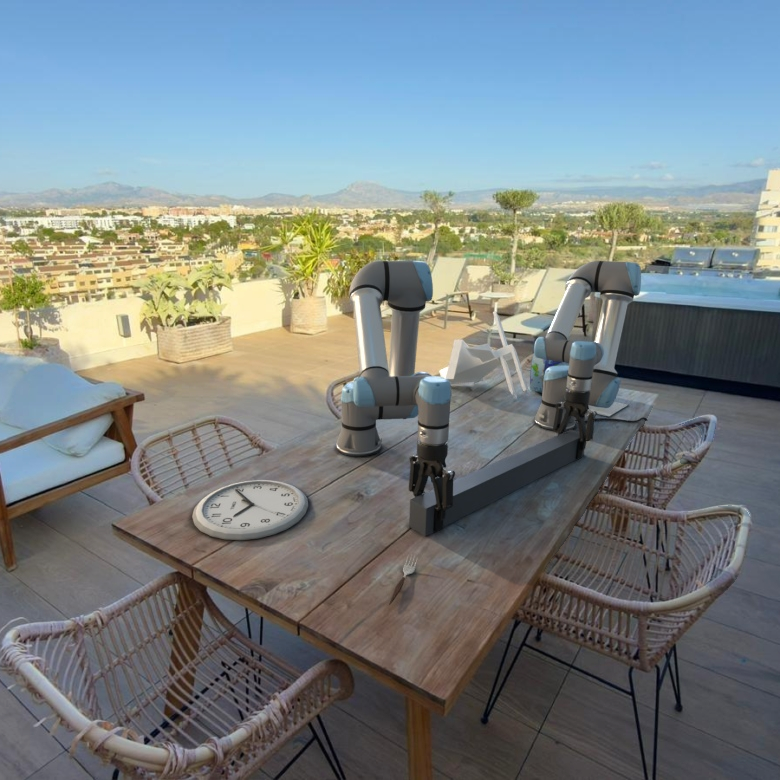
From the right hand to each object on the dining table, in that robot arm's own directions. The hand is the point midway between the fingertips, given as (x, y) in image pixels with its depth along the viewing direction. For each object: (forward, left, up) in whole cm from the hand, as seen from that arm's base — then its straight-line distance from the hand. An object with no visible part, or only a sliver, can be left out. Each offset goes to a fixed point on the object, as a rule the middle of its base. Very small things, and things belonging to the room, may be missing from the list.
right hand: (569, 454), depth 176 cm
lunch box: (-6, -76, 0) cm, 76 cm away
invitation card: (-24, -55, 0) cm, 60 cm away
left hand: (+45, +50, 0) cm, 67 cm away
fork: (+50, +74, 0) cm, 89 cm away
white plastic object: (+27, -67, 0) cm, 72 cm away
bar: (+23, +25, 0) cm, 34 cm away
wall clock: (+93, +49, 0) cm, 105 cm away
